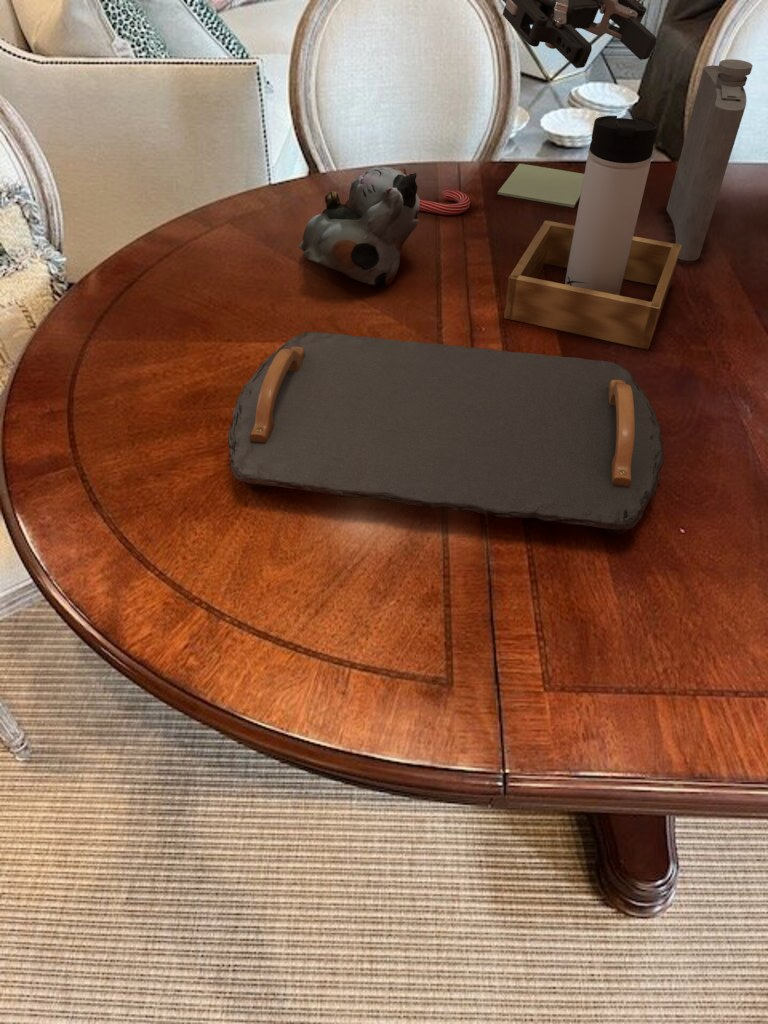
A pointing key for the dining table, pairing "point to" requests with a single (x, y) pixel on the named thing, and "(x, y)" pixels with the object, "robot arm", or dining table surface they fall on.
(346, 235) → the lucky cat figurine
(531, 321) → the wooden box
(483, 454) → the serving tray
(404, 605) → the dining table surface
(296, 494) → the dining table surface
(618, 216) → the travel mug
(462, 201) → the candy cane
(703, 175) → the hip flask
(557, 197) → the placemat
